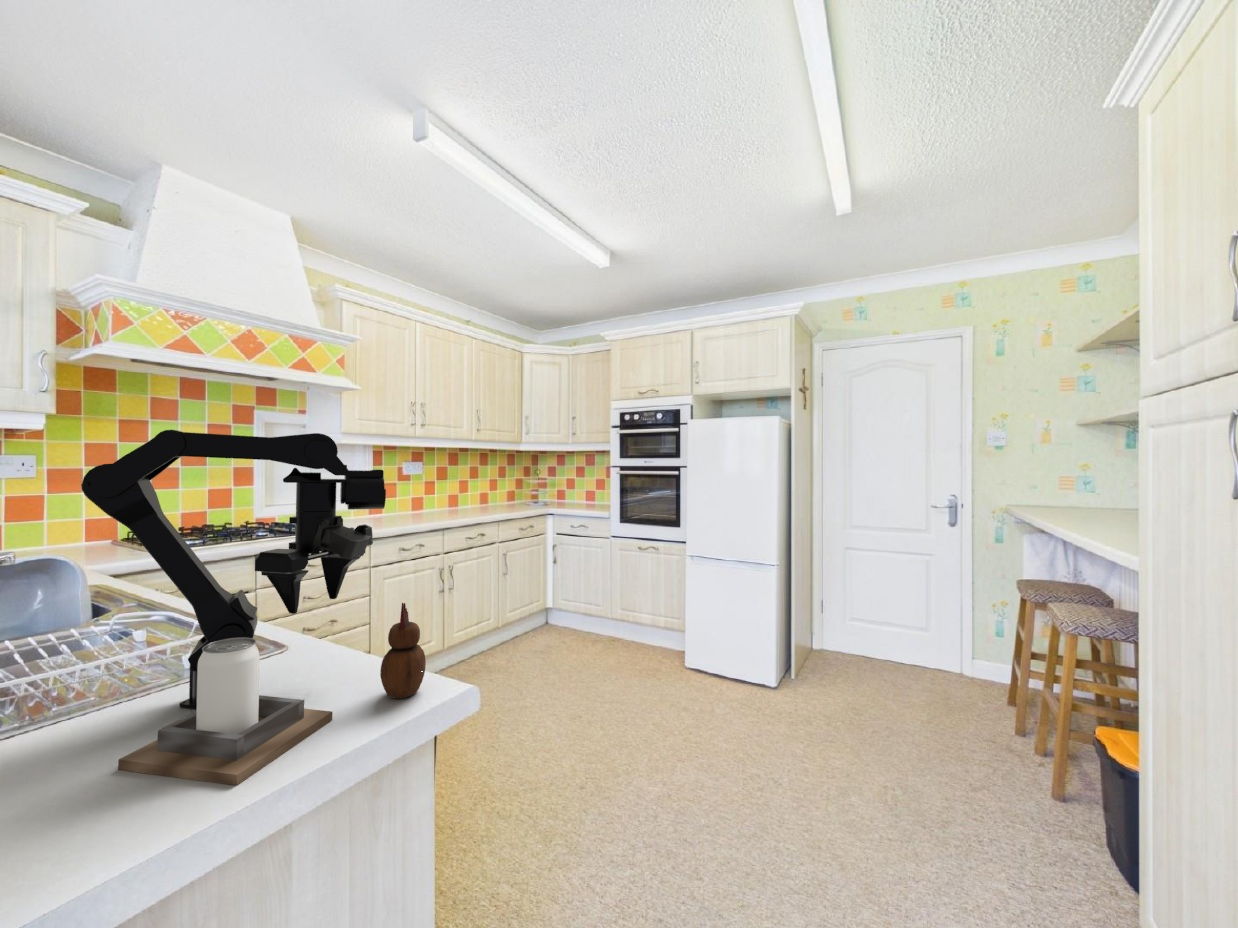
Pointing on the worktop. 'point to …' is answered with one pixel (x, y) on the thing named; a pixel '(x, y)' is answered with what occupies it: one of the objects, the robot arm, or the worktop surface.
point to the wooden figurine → (403, 659)
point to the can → (228, 686)
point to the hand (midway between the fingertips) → (314, 605)
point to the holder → (227, 744)
